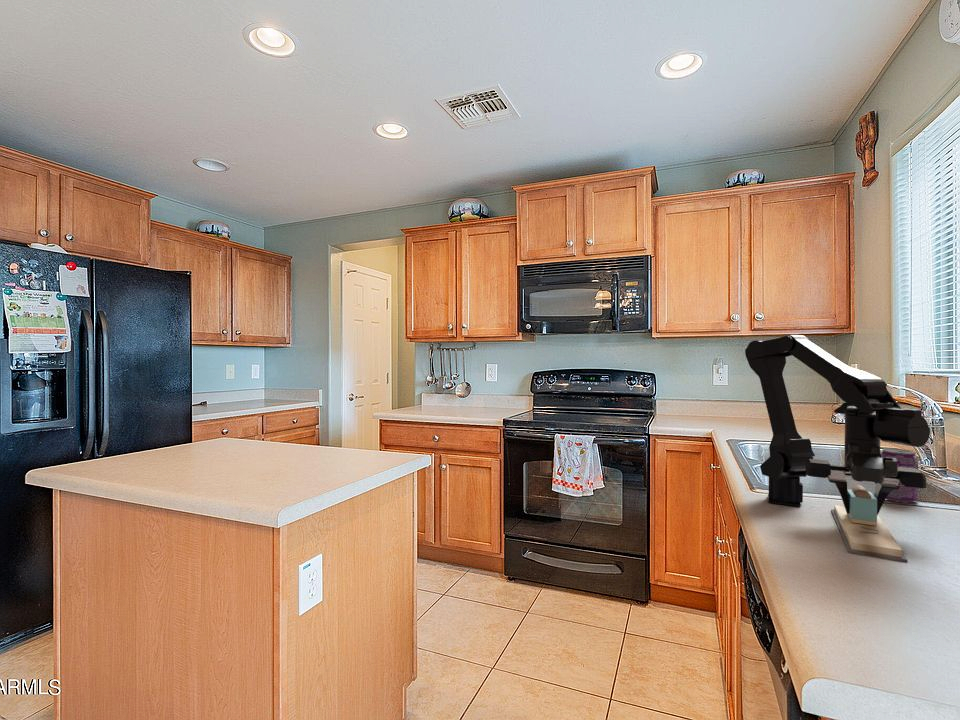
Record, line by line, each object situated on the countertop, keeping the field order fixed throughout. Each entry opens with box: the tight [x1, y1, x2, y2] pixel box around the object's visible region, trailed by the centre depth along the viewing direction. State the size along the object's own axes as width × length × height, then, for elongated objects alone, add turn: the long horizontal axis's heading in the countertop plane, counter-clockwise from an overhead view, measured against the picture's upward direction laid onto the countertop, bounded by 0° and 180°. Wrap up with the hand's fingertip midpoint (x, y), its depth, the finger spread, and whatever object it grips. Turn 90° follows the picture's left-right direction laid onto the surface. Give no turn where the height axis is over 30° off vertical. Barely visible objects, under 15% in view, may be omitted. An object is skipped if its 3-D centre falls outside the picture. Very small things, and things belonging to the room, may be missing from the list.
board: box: [831, 504, 908, 563], centre depth 97 cm, size 8×27×2 cm, turn 150°
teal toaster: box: [847, 484, 877, 526], centre depth 99 cm, size 4×7×6 cm, turn 150°
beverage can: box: [880, 447, 919, 503], centre depth 119 cm, size 7×7×12 cm
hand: (861, 514), depth 99 cm, fingers closed on teal toaster, 4 cm apart
